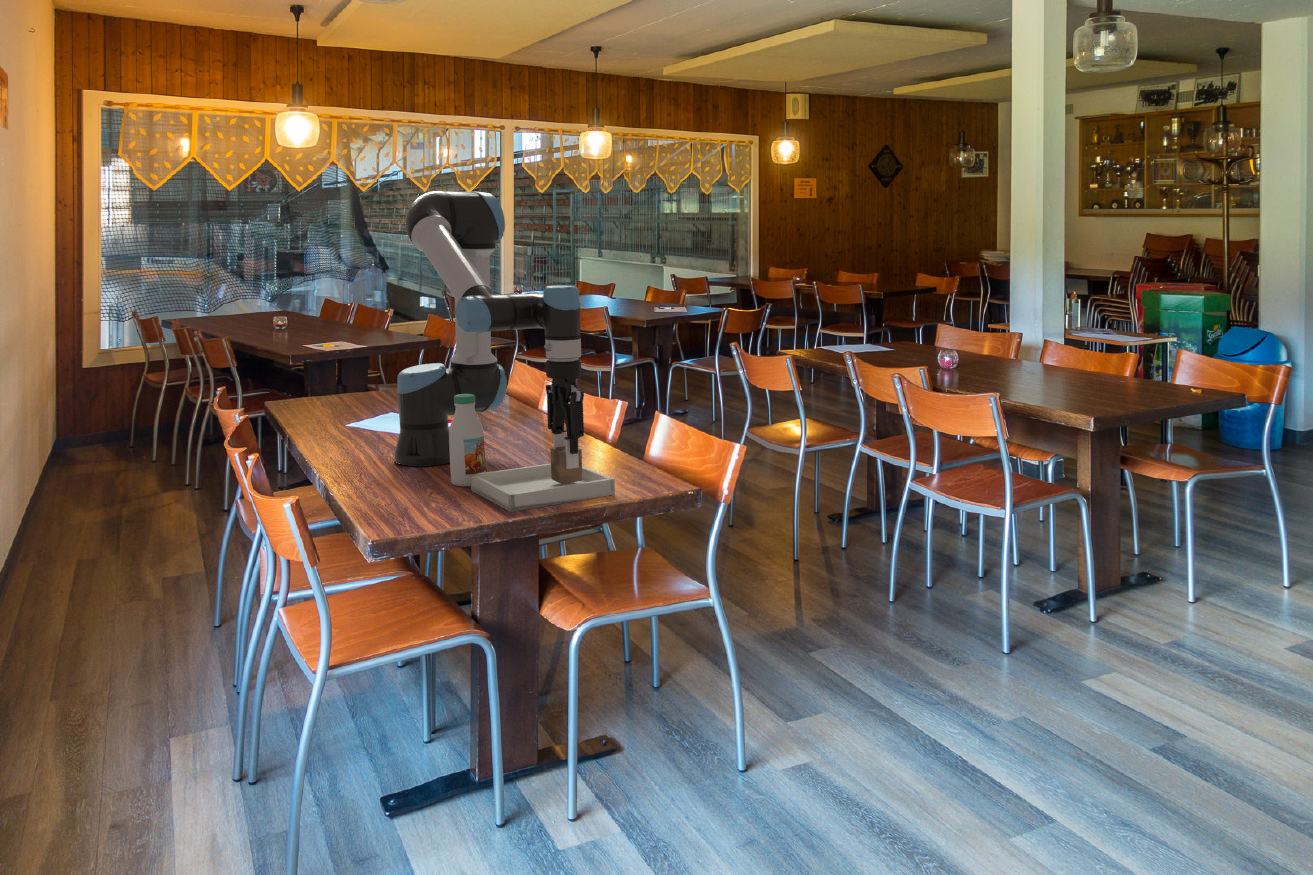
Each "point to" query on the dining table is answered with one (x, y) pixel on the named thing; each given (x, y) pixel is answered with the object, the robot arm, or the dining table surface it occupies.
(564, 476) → the walnut block
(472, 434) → the milk bottle
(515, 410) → the dining table surface
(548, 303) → the robot arm
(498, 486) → the tray
